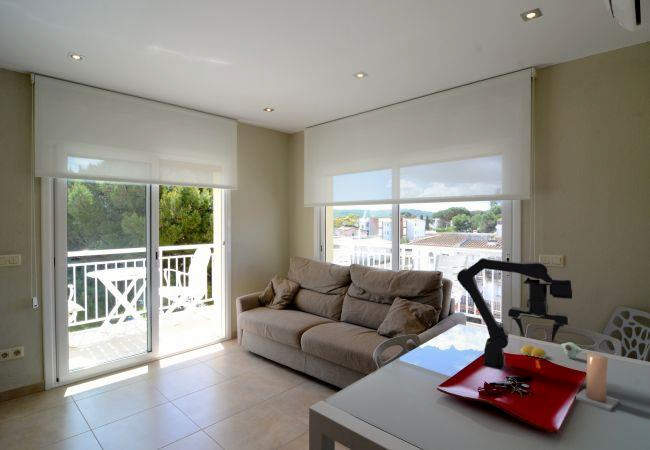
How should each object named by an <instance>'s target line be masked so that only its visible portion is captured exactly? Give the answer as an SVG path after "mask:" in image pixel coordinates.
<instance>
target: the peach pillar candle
mask: <svg viewBox="0 0 650 450" xmlns="http://www.w3.org/2000/svg"><path fill="white" fill-rule="evenodd" d="M586 359H587V360H586V384H585V385H586V386H585V387H586V388H585V389H586V396H587V397H588V398H589V399H592V400H594V401H598V402H605V401H606V396H607V389H608V388H607V386H608V385H607V383H608V357H606V356H604V355H601V354H598V353H597V354H596V353H588V354H587V356H586Z"/></svg>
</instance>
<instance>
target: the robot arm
mask: <svg viewBox="0 0 650 450" xmlns="http://www.w3.org/2000/svg"><path fill="white" fill-rule="evenodd" d="M484 270H493V271H501V272H508V273H514V274H515V273H516V274H520V275H523V276H526V278H525V279H524V280H522V281H523V282H522V283H523V284H524V285H528V298H527V299H526V307H527V309H528V311H527V310H523V307H517V306H516V307H514V306H512V307H511V308H509V309H508V314H507V316H508V317H510V318H511V319H512V320H514V321H515V322H516V324H517V326H518V328H519V331H520V333H521V336H522V337H525V323H524V317H529V318H537V319H544V320H550V321H554V322H553V325H552V332H551V342H554V340H555V337H556V335H557V333H558V331H559V329H560V327H561V328H563V327H564V326H568V325H569V323H570V316H569V315H568V314H567V313H561V312H555V313H554V314H550V313H549V304H548V295H551V297H552V298H553V299H563V300H572V299H573V290H572V289H573V288H572V281H571V280H570V279H557V278H556V279H555V278H554V279H553V277H552V276H551V275H549V273H548V268H547V267H546V265H545V264H544V263H542V262H541V261H528V262H527V261H526V262H525V261H524V262H514V261H505V260H497V259H491V258H490V259H488V258H485V257H481V258H480V259H478V261H476V262H475V263H474V264H473V265H471V266H470V267H468V268H463V269H461V270H460V271H459V272H457V276H456V279H457V281H458V283H459V285H461V286H462V287H463V289H464V290H465V291H466V292H467V293H468V294H469V296H470V298H471V300H472V302H473V304H474V305H475V307H476V309H477V311H478V312H479V315H480V317H481V318H482V320H483V322H484V324H485V326H486V328H487V331H488V336H489V337H488V338H487V339H486V341H485V345H484V350H483V351H484V353H483V354H484V355H483V356H484V357H483V358H484V359H483V363H482V365H483V366H485V367H488V368H493V369H497V370H502V369H503V367H504V366H505V365H506V354H505V353H504V349H506V348H507V346H508V345H509V335H510V334H509V333H510V332H509V331H507V329H506V327H505V324H504V323H501V324H500V323H499V322H498V321H497V319H496V318H495V316H494V314H493V313H492V311H491V309H490V307H489V305H488V303H487V301H486V300H485V298H484V296H483V295H482V292H481V291H480V289H479V285H478V283H477V279H476V276H477V275H479V274H480V273H481V272H482V271H484ZM541 280H542V281H543V282H541Z"/></svg>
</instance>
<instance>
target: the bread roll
mask: <svg viewBox="0 0 650 450" xmlns="http://www.w3.org/2000/svg"><path fill="white" fill-rule="evenodd" d="M520 353H521V354H522V355H523V356H525V355H528V356H535V357H539V358H543V359H542V360H544V359H546V358H547V353H546V351H545V350H544V349H542V348H539V347H534V346H533V345H530V344H527V345H524V346H522V348H520Z"/></svg>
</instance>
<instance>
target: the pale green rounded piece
mask: <svg viewBox="0 0 650 450" xmlns="http://www.w3.org/2000/svg"><path fill="white" fill-rule="evenodd" d="M561 347H562V348H563V350H564V353H565V354H566V356H567V357H568V358H569V359H575V358H576V357H577V355H579V354H581V352H583V351H584V349H582V348H580V347H579V346H578V345H576V344H575V343H574V342H570V341H569V342H566V343H561Z"/></svg>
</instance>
